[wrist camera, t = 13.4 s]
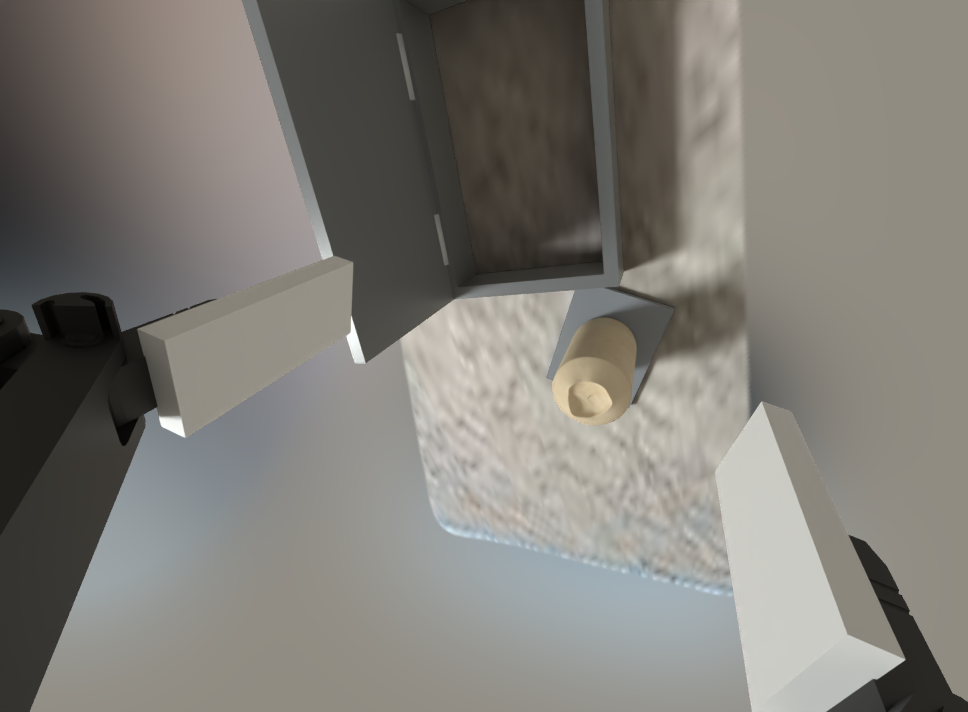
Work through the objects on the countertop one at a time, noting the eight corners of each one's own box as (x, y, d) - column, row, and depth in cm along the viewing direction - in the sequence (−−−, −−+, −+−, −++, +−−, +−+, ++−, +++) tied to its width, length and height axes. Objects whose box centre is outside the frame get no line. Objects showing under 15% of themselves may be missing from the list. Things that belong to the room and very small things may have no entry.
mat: (579, 278, 37) (578, 279, 36) (674, 307, 35) (674, 310, 35) (547, 375, 42) (546, 377, 41) (629, 405, 40) (628, 408, 40)
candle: (602, 385, 40) (587, 449, 31) (559, 343, 39) (532, 396, 31) (651, 348, 37) (648, 408, 28) (604, 303, 36) (587, 349, 28)
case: (406, -7, 33) (196, -136, 18) (604, -87, 27) (533, -370, 12) (463, 286, 41) (352, 363, 26) (623, 271, 35) (596, 359, 21)
